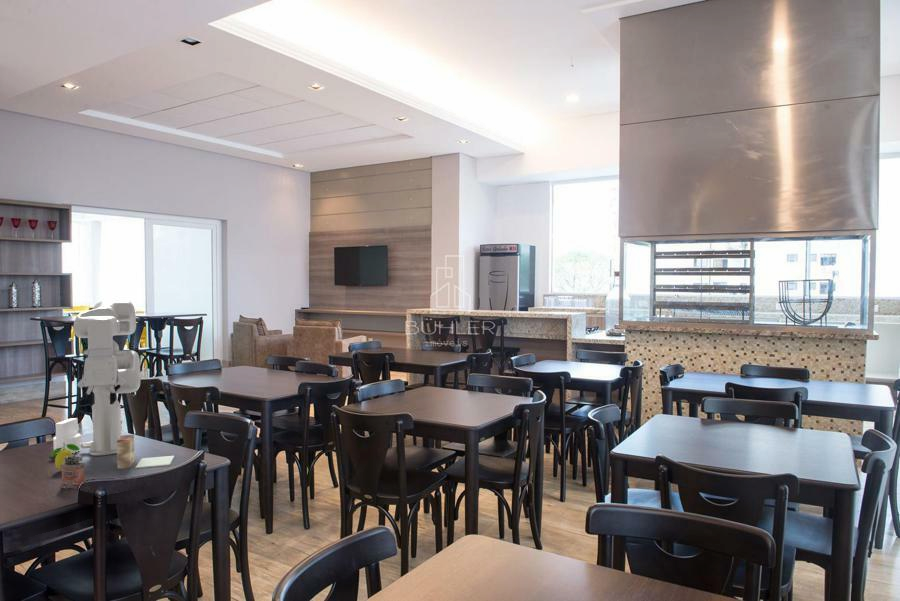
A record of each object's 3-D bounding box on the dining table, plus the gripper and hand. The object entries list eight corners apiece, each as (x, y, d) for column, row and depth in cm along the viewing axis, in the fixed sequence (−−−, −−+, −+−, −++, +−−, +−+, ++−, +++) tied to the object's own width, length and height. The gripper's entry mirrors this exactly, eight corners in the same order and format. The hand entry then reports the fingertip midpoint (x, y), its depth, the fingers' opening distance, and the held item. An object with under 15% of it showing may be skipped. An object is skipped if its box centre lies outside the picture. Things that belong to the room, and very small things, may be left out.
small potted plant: (58, 487, 190) (57, 456, 190) (67, 484, 194) (66, 453, 193) (79, 489, 188) (78, 458, 188) (88, 486, 192) (87, 455, 191)
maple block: (117, 468, 209) (116, 440, 209) (122, 463, 216) (121, 435, 216) (130, 467, 211) (129, 439, 210) (134, 461, 217) (133, 434, 217)
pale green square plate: (135, 468, 209) (135, 467, 209) (141, 459, 220) (141, 458, 220) (169, 465, 212) (169, 464, 212) (174, 456, 223) (174, 455, 223)
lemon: (80, 468, 210) (79, 440, 209) (65, 474, 204) (64, 444, 204) (65, 467, 212) (64, 439, 211) (50, 472, 206) (49, 443, 206)
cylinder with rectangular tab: (71, 454, 227) (70, 423, 227) (48, 455, 227) (47, 423, 227) (86, 448, 236) (85, 418, 236) (64, 448, 236) (62, 418, 236)
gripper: (69, 355, 204) (71, 408, 205) (125, 353, 209) (127, 404, 209) (76, 353, 211) (77, 404, 212) (130, 350, 216) (131, 400, 217)
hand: (102, 403), depth 211 cm, fingers open, 5 cm apart
